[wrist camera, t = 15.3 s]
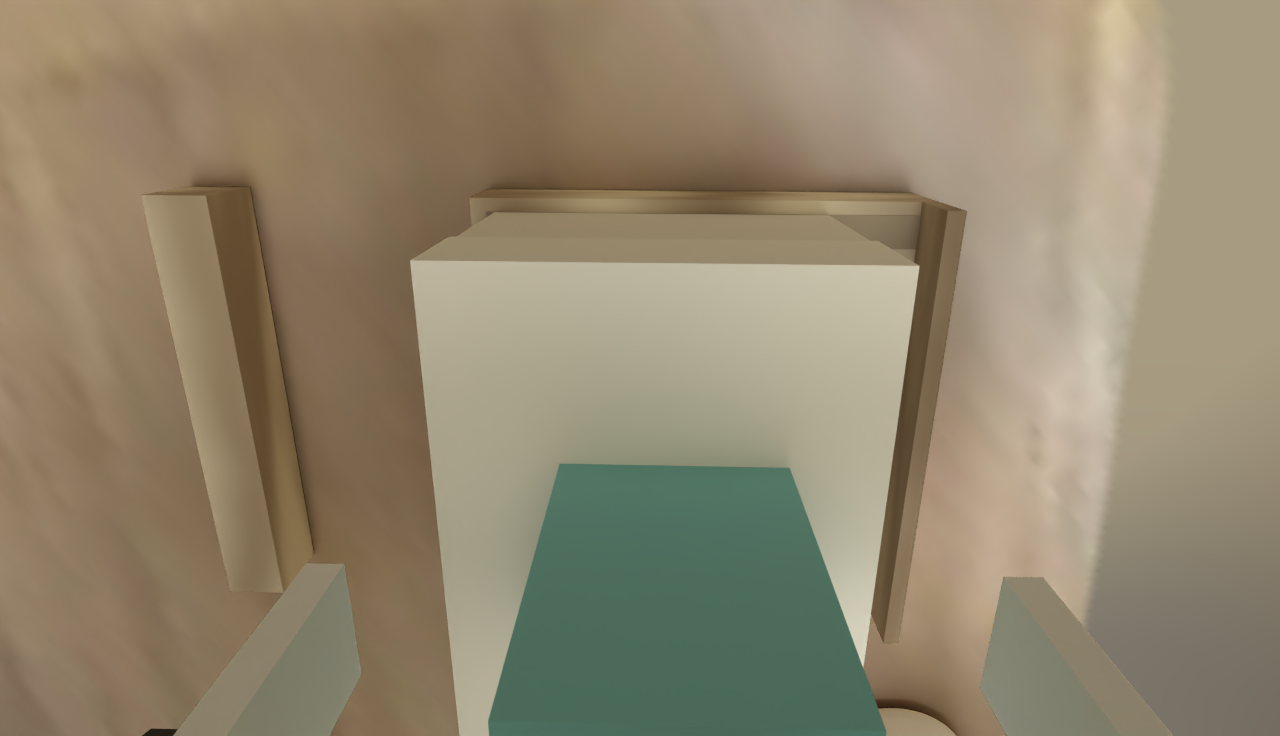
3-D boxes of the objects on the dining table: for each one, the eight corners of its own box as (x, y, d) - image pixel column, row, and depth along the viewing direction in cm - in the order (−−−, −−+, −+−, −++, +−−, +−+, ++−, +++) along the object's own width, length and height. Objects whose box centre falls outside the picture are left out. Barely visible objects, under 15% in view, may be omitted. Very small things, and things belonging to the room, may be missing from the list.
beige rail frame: (264, 552, 29) (197, 628, 25) (191, 186, 24) (91, 203, 20) (862, 563, 28) (898, 643, 24) (911, 192, 24) (966, 211, 19)
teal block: (559, 463, 16) (487, 721, 9) (789, 467, 16) (886, 730, 9) (565, 648, 17) (509, 978, 11) (773, 653, 17) (843, 989, 11)
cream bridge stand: (518, 592, 26) (464, 780, 19) (494, 208, 22) (409, 260, 14) (793, 597, 26) (846, 789, 19) (829, 211, 21) (919, 265, 14)
